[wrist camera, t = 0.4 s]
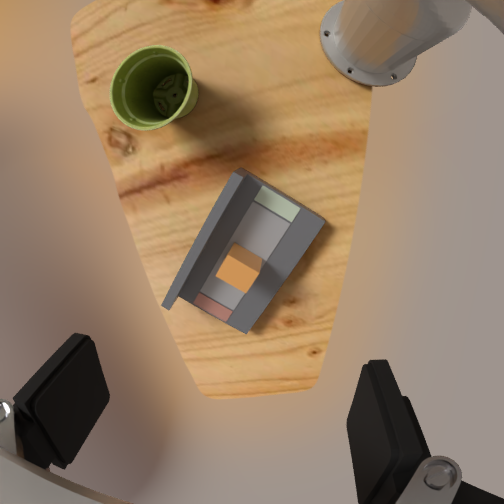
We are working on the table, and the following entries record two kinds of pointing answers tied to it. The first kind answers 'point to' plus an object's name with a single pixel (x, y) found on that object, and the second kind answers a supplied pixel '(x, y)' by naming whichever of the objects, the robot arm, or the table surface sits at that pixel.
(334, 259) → the table surface
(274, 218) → the switch panel
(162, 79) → the plant pot
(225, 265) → the handle
